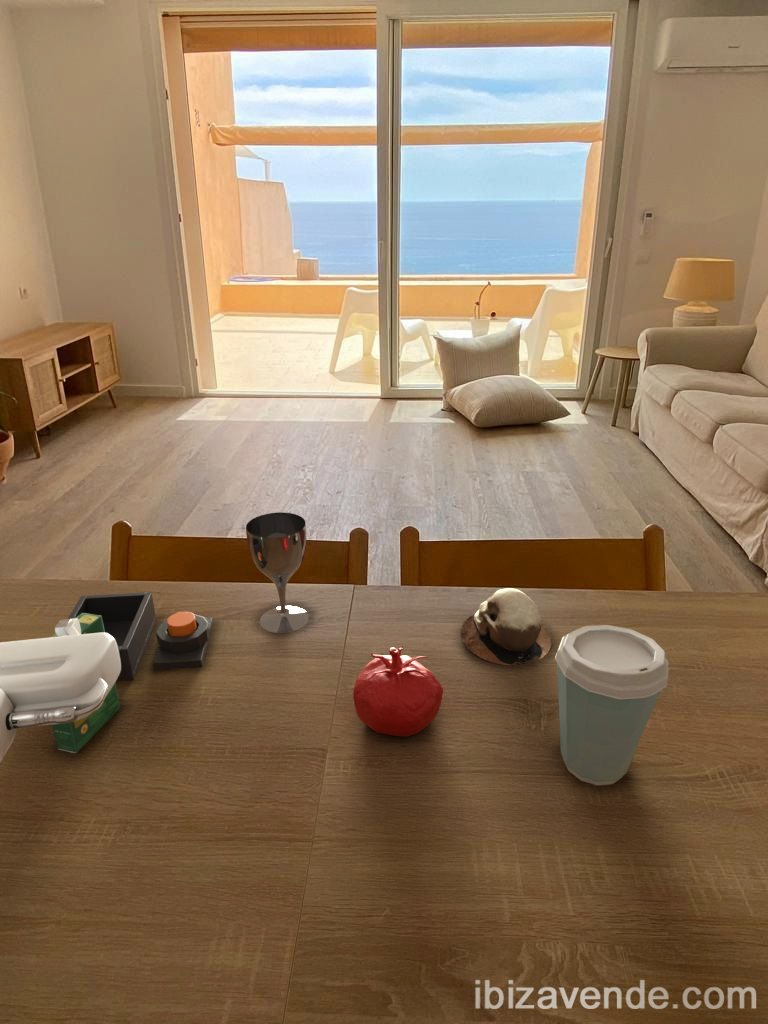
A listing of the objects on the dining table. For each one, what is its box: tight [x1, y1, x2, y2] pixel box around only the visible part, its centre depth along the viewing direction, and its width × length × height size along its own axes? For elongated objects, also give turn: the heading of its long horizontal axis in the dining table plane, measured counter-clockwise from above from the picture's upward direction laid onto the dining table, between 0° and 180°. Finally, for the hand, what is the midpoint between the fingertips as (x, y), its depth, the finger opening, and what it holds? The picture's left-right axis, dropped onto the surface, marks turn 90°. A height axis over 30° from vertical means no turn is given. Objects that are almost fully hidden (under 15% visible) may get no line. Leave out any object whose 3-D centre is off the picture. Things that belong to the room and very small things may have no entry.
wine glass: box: [245, 511, 309, 634], centre depth 96 cm, size 8×8×15 cm
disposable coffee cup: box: [554, 624, 670, 786], centre depth 70 cm, size 11×11×15 cm
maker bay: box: [67, 591, 157, 682], centre depth 92 cm, size 10×14×5 cm
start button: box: [166, 611, 197, 637], centre depth 92 cm, size 4×4×2 cm
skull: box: [460, 587, 552, 666], centre depth 93 cm, size 12×10×10 cm
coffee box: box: [50, 613, 121, 754], centre depth 76 cm, size 8×3×13 cm, turn 163°
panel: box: [153, 614, 214, 671], centre depth 93 cm, size 6×10×3 cm, turn 5°
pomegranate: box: [352, 646, 444, 737], centre depth 78 cm, size 10×10×9 cm
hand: (15, 631), depth 61 cm, fingers open, 8 cm apart
